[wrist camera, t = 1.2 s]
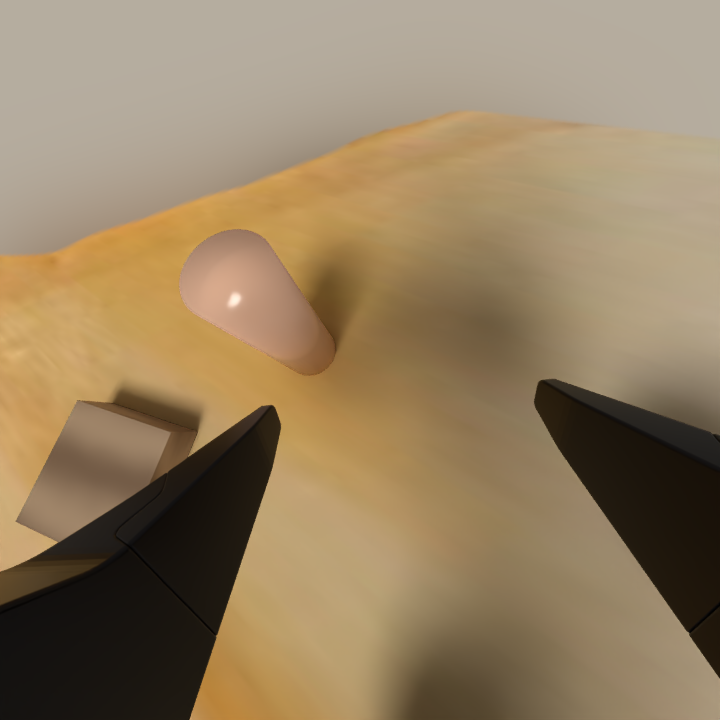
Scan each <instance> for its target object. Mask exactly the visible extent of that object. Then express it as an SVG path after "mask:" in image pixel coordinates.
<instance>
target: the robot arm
mask: <svg viewBox="0 0 720 720" xmlns="http://www.w3.org/2000/svg"><path fill="white" fill-rule="evenodd" d="M534 404H535V408H536V410H537V411H538V413H539V415H540V417H541V419H542V420H543V422H544V424H545V426H546V428H547V429H548V431H549V433H550V435H551V437H552V438H553V440H554V442H555V444H556V445H557V447H558V449H559V450H560V452H561V453H562V455H563V456H564V457H565V459H566V460H567V462H568V463H569V465H570V466H571V467H572V469H573V470H574V472H575V473H576V474H577V476H578V477H579V479H580V480H581V482H582V483H583V484H584V486H585V487H586V489H587V490H588V492H589V493H590V494H591V496H592V497H593V499H594V500H595V502H596V503H597V504H598V506H599V507H600V509H601V510H602V511H603V513H604V514H605V516H606V517H607V519H608V520H609V521H610V523H611V524H612V526H613V527H614V529H615V530H616V531H617V533H618V534H619V536H620V537H621V538H622V540H623V541H624V543H625V544H626V546H627V547H628V548H629V550H630V551H631V553H632V554H633V556H634V557H635V558H636V560H637V561H638V563H639V564H640V565H641V567H642V568H643V570H644V571H645V573H646V574H647V575H648V577H649V578H650V580H651V581H652V583H653V584H654V585H655V587H656V588H657V590H658V591H659V593H660V594H661V595H662V597H663V598H664V600H665V601H666V602H667V604H668V605H669V607H670V608H671V610H672V611H673V612H674V614H675V615H676V617H677V618H678V620H679V621H680V622H681V624H682V625H683V627H684V628H685V629H686V631H687V632H689V636H690V637H691V638H692V640H693V641H694V643H695V644H696V646H697V647H698V648H699V650H700V651H701V653H702V654H703V656H704V657H705V658H706V660H707V661H708V663H709V664H710V665H711V667H712V668H713V670H714V671H715V673H716V674H717V675H718V677H719V678H720V435H717V434H712V433H711V432H708V431H705V430H702V429H699V428H696V427H694V426H691V425H688V424H685V423H682V422H679V421H676V420H673V419H670V418H667V417H664V416H661V415H659V414H656V413H653V412H650V411H647V410H644V409H641V408H638V407H635V406H632V405H629V404H626V403H623V402H621V401H618V400H615V399H612V398H609V397H606V396H603V395H600V394H597V393H594V392H591V391H588V390H586V389H583V388H580V387H577V386H574V385H571V384H568V383H565V382H562V381H559V380H556V379H546V380H541V381H539V382H538V385H537V390H536V395H535V399H534ZM280 430H281V423H280V420H279V417H278V414H277V412H276V409H275V407H274V406H273V405H267V406H261V407H260V408H258V409H257V410H255V411H254V412H252V413H251V414H250V415H248V416H247V417H245V418H244V419H242V420H241V421H240V422H238V423H237V424H235V425H234V426H232V427H231V428H229V429H228V430H227V431H225V432H224V433H222V434H221V435H219V436H218V437H217V438H215V439H214V440H212V441H211V442H209V443H208V444H206V445H205V446H204V447H202V448H201V449H199V450H198V451H196V452H195V453H193V454H192V455H191V456H189V457H188V458H186V459H185V460H183V461H182V462H181V463H179V464H178V465H176V466H175V467H173V468H172V469H170V470H169V471H168V473H165V474H163V475H162V476H160V477H159V478H157V479H156V480H155V481H153V482H152V483H150V484H149V485H147V486H146V487H144V488H143V489H141V490H140V491H138V492H137V493H135V494H134V495H132V496H131V497H129V498H128V499H126V500H125V501H123V502H122V503H120V504H118V505H117V506H115V507H114V508H112V509H111V510H109V511H108V512H106V513H104V514H103V515H101V516H100V517H98V518H96V519H95V520H93V521H92V522H90V523H89V524H87V525H85V526H84V527H82V528H81V529H79V530H77V531H76V532H74V533H73V534H71V535H69V536H68V537H66V538H65V539H63V540H62V541H60V542H58V543H57V544H55V545H54V546H52V547H50V548H49V549H47V550H45V551H44V552H42V553H40V554H39V555H37V556H35V557H33V558H31V559H29V560H27V561H25V562H23V563H21V564H19V565H16V566H14V567H12V568H9V569H7V570H4V571H1V572H0V720H189V719H190V716H191V713H192V710H193V707H194V704H195V701H196V698H197V695H198V692H199V689H200V686H201V683H202V680H203V677H204V674H205V671H206V668H207V665H208V662H209V659H210V656H211V653H212V650H213V647H214V644H215V641H216V635H217V634H218V631H219V628H220V625H221V622H222V619H223V616H224V613H225V610H226V607H227V604H228V601H229V598H230V595H231V592H232V589H233V586H234V583H235V580H236V577H237V574H238V571H239V568H240V565H241V562H242V559H243V556H244V553H245V549H246V546H247V543H248V540H249V537H250V534H251V531H252V528H253V525H254V522H255V519H256V516H257V513H258V510H259V507H260V504H261V501H262V498H263V495H264V492H265V489H266V486H267V483H268V480H269V477H270V474H271V471H272V467H273V463H274V459H275V454H276V449H277V445H278V440H279V435H280Z"/></svg>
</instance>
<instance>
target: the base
mask: <svg viewBox="0 0 720 720" xmlns="http://www.w3.org/2000/svg"><path fill="white" fill-rule="evenodd" d="M196 435H197V431H194V430H191V429H188V428H185V427H182V426H179V425H176V424H173V423H170V422H167V421H164V420H161V419H158V418H155V417H152V416H149V415H146V414H143V413H140V412H137V411H134V410H131V409H128V408H125V407H122V406H120V405H117V404H114V403H104V402H92V401H80V400H77V402H76V404H75V406H74V408H73V410H72V412H71V414H70V416H69V418H68V420H67V422H66V424H65V426H64V428H63V430H62V432H61V434H60V436H59V438H58V440H57V441H56V443H55V445H54V447H53V449H52V451H51V453H50V455H49V457H48V459H47V461H46V463H45V465H44V467H43V469H42V471H41V473H40V475H39V477H38V479H37V481H36V483H35V485H34V486H33V488H32V490H31V492H30V494H29V496H28V498H27V500H26V502H25V504H24V506H23V508H22V510H21V512H20V514H19V516H18V518H17V520H16V522H18V523H20V524H22V525H24V526H26V527H28V528H30V529H32V530H34V531H36V532H38V533H41V534H43V535H45V536H47V537H49V538H51V539H53V540H55V541H57V542H60V541H62V540H63V539H65V538H66V537H68V536H69V535H71V534H73V533H74V532H76V531H77V530H79V529H81V528H82V527H84V526H85V525H87V524H89V523H90V522H92V521H93V520H95V519H96V518H98V517H100V516H101V515H103V514H104V513H106V512H108V511H109V510H111V509H112V508H114V507H115V506H117V505H118V504H120V503H122V502H123V501H125V500H126V499H128V498H129V497H131V496H132V495H134V494H135V493H137V492H138V491H140V490H141V489H143V488H144V487H146V486H147V485H149V484H150V483H152V482H153V481H155V480H156V479H157V478H159V477H160V476H162V475H163V474H165V473H168V471H169V470H170V469H172V468H173V467H175V466H176V465H178V464H179V463H181V462H182V461H183V460H185V459H186V458H187V457H188V455H189V452H190V450H191V447H192V445H193V442H194V440H195V437H196Z"/></svg>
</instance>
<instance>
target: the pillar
mask: <svg viewBox="0 0 720 720" xmlns="http://www.w3.org/2000/svg"><path fill="white" fill-rule="evenodd" d="M179 288H180V294H181V297H182V300H183V302H184V303H185V305H186V306H187V308H188V309H189V310H190V311H191V312H193V313H194V314H196V315H197V316H199V317H201V318H202V319H204V320H206V321H208V322H210V323H211V324H213V325H215V326H217V327H218V328H220V329H222V330H224V331H225V332H227V333H229V334H231V335H232V336H234V337H236V338H238V339H239V340H241V341H243V342H245V343H246V344H248V345H250V346H252V347H253V348H255V349H257V350H259V351H260V352H262V353H264V354H266V355H267V356H269V357H271V358H273V359H274V360H276V361H278V362H280V363H281V364H283V365H285V366H287V367H289V368H290V369H292V370H294V371H296V372H297V373H299V374H302V375H309V376H310V375H316V374H319V373H321V372H323V371H324V370H325V369H327V368H328V367H329V365H330V364H331V363H332V361H333V359H334V356H335V343H334V340H333V338H332V337H331V335H330V334H329V332H328V331H327V329H326V328H325V326H324V325H323V323H322V322H321V320H320V319H319V317H318V316H317V314H316V313H315V311H314V310H313V308H312V307H311V305H310V304H309V302H308V301H307V299H306V298H305V296H304V295H303V293H302V292H301V291H300V289H299V288H298V286H297V285H296V283H295V282H294V280H293V279H292V277H291V276H290V274H289V273H288V271H287V270H286V268H285V267H284V265H283V264H282V262H281V261H280V259H279V258H278V256H277V255H276V253H275V252H274V250H273V249H272V247H271V246H270V244H269V243H268V242H267V241H266V240H265V239H264V238H263V237H262V236H260V235H258V234H257V233H254V232H252V231H248V230H241V229H234V230H227V231H223V232H220V233H217V234H215V235H213V236H211V237H209V238H207V239H206V240H204V241H203V242H202V243H200V244H199V245H198V246H197V247H196V248H195V249H194V250H193V251H192V253H191V254H190V255H189V257H188V258H187V260H186V262H185V263H184V266H183V268H182V271H181V275H180V281H179Z"/></svg>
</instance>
